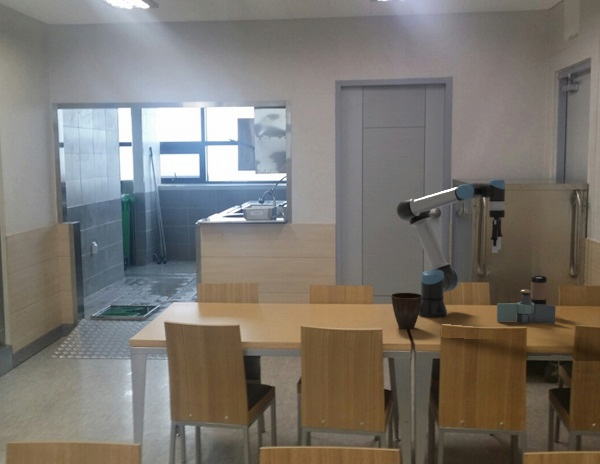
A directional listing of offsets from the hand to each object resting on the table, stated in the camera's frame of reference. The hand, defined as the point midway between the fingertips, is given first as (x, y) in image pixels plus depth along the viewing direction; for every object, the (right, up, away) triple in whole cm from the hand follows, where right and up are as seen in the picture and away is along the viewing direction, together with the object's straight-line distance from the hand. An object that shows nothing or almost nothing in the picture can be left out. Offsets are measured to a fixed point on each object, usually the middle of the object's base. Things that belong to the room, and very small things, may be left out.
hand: (496, 251), depth 346 cm
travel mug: (+24, -34, +8) cm, 43 cm away
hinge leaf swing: (+7, -35, -7) cm, 37 cm away
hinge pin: (+13, -35, -7) cm, 38 cm away
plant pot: (-48, -37, -15) cm, 63 cm away
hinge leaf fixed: (+17, -35, -9) cm, 40 cm away
